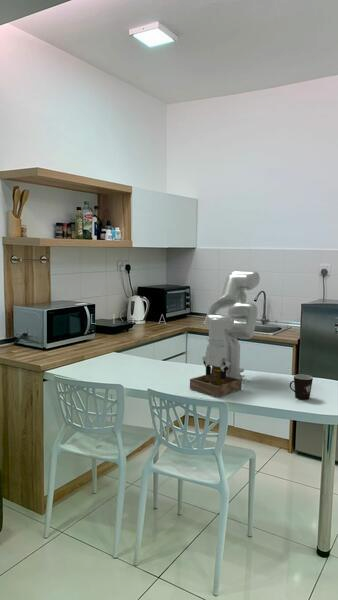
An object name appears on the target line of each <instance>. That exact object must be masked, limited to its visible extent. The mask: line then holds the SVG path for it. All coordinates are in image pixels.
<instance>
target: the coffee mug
mask: <svg viewBox="0 0 338 600" xmlns="http://www.w3.org/2000/svg"><path fill="white" fill-rule="evenodd" d="M313 379H314V377H313V376H312V375H307V374H301V373H300V374H294V375H293V380H291V381H290V383H289V388H290V390H291V391H292V392H294V396H295V397H294V398H295V399H297V400H301V401H307V400H310V397H311V391H312V385H313V381H314V380H313ZM292 384H294V389H293V387H292Z"/></svg>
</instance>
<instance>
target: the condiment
mask: <svg viewBox="0 0 338 600" xmlns="http://www.w3.org/2000/svg"><path fill="white" fill-rule="evenodd" d="M221 371H222V370H221V368H220V367H215V366H211V384H212V385H215V386H220V385H223V379H221Z"/></svg>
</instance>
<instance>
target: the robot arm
mask: <svg viewBox="0 0 338 600" xmlns="http://www.w3.org/2000/svg"><path fill="white" fill-rule="evenodd" d="M260 279H261V278H260V274H259V272H258V271H255V270H254V271H253V270H233V271H230V272H229V273H228V274H227V276H226V278H225V281H224V286H223V288H222V291H221V292H222V293H221V296H219V298H217V299H216V300H215V301H213V303H211V305H210V306H209V307H208V309H207V311H206V312H207V313H206V316H205V321H204V324H205V327H206V328H207V329H208V338H207V342H208V344H207V345H206V350H205V355H204V356H202V357H201V358H202V362H203V365H204V368H205V375H210V374H211V369H212V366H215V367H220V368H221V370H222V371H221V379H226V376H229V377H233V378H237V379H240V380H242V379H243V375H242V374H241V373H243V372H245V368H243V367H242V368H241V367H240V365H241V345H240V342H239V341H238V339H244V340H245V339H246V340H249V339H251V338H253V336H254V334H255V329H256V323H257V319H258V311H259V310H258V306H257V305H256V304H255V303H252V302H247V298H248V296H247V293H246V291H252V290H253V289H255V288H256V287H257V286H258V285H259V284H260ZM225 308H228V309H227V315H225V314H224V315H222V314H216V313H218V312H219V311H221V310H223V309H225Z"/></svg>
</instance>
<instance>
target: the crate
mask: <svg viewBox="0 0 338 600" xmlns="http://www.w3.org/2000/svg"><path fill="white" fill-rule="evenodd" d="M242 382H243V381H242V379H237V378H233V377H229V376H226V379H223V385H220V386H215V385H212V384H211V374H210V375H206V374H204V375H201V376H200V375H199V376H196V377H192V378H189V390H192V391H196V392H198V393H203V394H206V395H209V396H212V397H215V398H220V397H223V396H226V395H230V394H232V393H235V391H236V392H239V391H242ZM238 390H239V391H238Z"/></svg>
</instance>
